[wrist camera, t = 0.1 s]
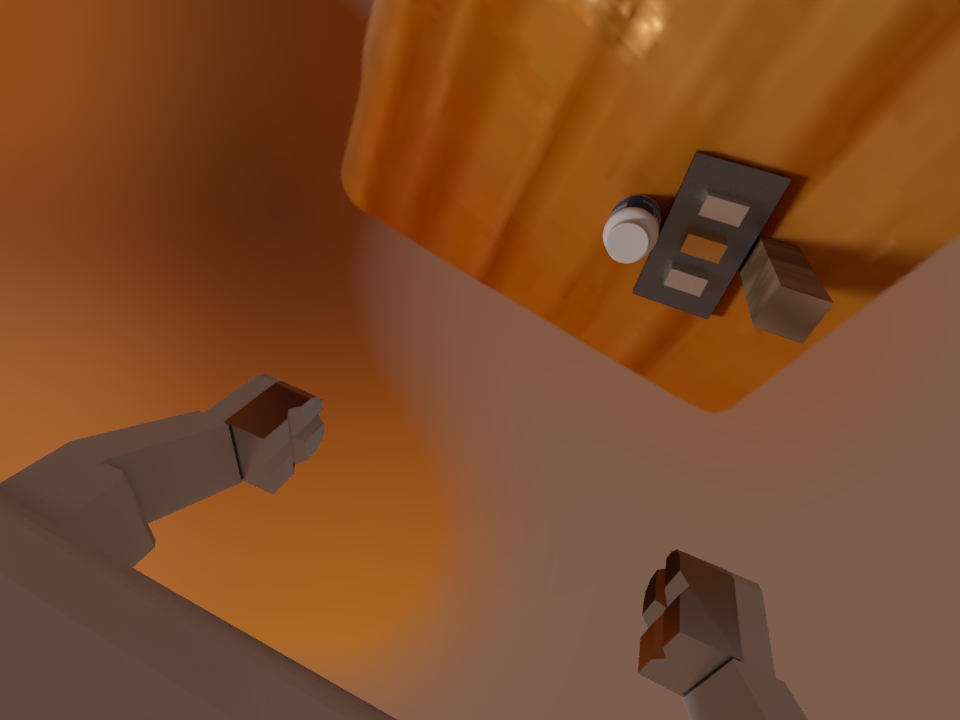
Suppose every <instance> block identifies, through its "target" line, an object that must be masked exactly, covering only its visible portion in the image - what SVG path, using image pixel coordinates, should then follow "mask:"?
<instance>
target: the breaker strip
mask: <svg viewBox="0 0 960 720" xmlns="http://www.w3.org/2000/svg"><path fill="white" fill-rule="evenodd" d="M791 180H792V179H791V178H790V177H789V176H786V175H783V174H779V173H775V172H772V171H768V170H765V169H761V168H757V167H754V166H750V165H747V164H743V163H740V162H736V161H732V160H729V159H725V158H722V157H718V156H714V155H711V154H707V153H704V152H700V151H696V153H695V155H694V157H693V160H692V162H691V164H690V166H689V168H688V171H687V173H686V175H685V177H684V179H683V182H682V184H681V186H680V188H679V190H678V193H677V195H676V197H675V199H674V201H673V203H672V206H671V208H670V210H669V212H668V214H667V217H666V219H665V221H664V223H663V225H662V228H661V230H660V232H659V235H658V239H657V242H656V244H655V246H654V248H653V249H652V250H651V252H650V254H649V256H648V258H647V261H646V263H645V265H644V267H643V269H642V272H641V274H640V276H639V278H638V280H637V283H636V285H635V287H634V290H633V294H636V295H639V296H641V297H644V298H647V299H650V300H653V301H656V302H659V303H662V304H665V305H667V306H670V307H673V308H676V309H679V310H682V311H685V312H688V313H690V314H693V315H696V316H699V317H702V318H705V319H709V317H710V315H711V314H712V312H713V310H714V309H715V307H716V305H717V304H718V302H719V300H720V299H721V297H722V295H723V294H724V292H725V290H726V289H727V287H728V285H729V284H730V282H731V280H732V279H733V277H734V275H735V274H736V272H737V270H738V269H739V267H740V265H741V263H742V262H743V260H744V258H745V257H746V255H747V253H748V252H749V250H750V248H751V247H752V245H753V243H754V242H755V240H756V238H757V237H758V235H759V233H760V232H761V230H762V228H763V227H764V225H765V223H766V222H767V220H768V218H769V217H770V215H771V213H772V212H773V210H774V208H775V207H776V205H777V203H778V202H779V200H780V198H781V197H782V195H783V193H784V191H785V190H786V188H787V186H788V185H789V183H790V181H791Z"/></svg>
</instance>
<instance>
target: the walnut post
mask: <svg viewBox="0 0 960 720" xmlns="http://www.w3.org/2000/svg"><path fill="white" fill-rule="evenodd" d="M739 272H740V276H741V280H742V284H743V287H744V291H745V295H746V299H747V303H748V306H749V310H750V314H751V318H752V322H753V325H754V327H755V328H758V329H761V330H764V331H767V332H770V333H773V334H775V335H778V336H781V337H784V338H787V339H790V340H793V341H796V342H799V343H802V344H803V342H804V341H805V340H806V339H807V337H808V336H809V335H810V333H811V332H812V331H813V330H814V328H815V327H816V326H817V324H818V323H819V322H820V321H821V319H822V318H823V317H824V315H825V314H826V313H827V312H828V310H829V309H830V308H831V306H832V305H833V304H834V303H833V301H832V300H831V298H830V296H829V295H828V293H827V292H826V290H825V289H824V287H823V285H822V284H821V282H820V281H819V279H818V277H817V276H816V274H815V273H814V271H813V270H812V268H811V266H810V265H809V263H808V262H807V260H806V258H805V257H804V255H803V254H802V252H801V250H800V249H799V248H797V247H794V246H791V245H787V244H784V243H781V242H778V241H774V240H771V239H768V238H765V237H761V236H759V237H758V239H757V241H756V242H755V244H754V246H753V247H752V249H751V251H750V252H749V254H748V256H747V257H746V259H745V261H744V262H743V264H742V266H741V267H740V269H739Z"/></svg>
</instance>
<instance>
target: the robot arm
mask: <svg viewBox="0 0 960 720" xmlns="http://www.w3.org/2000/svg"><path fill="white" fill-rule="evenodd" d="M322 410H323V407H322V399H320V398H318V397H316V396H314V395H312V394H310V393H308V392H305V391H303V390H301V389H299V388H297V387H295V386H292V385H290V384H288V383H286V382H284V381H281V380H279V379H277V378H275V377H272V376H270V375H268V374H266V373H265V374H260V375H257V376H255V377H254V378H252V379H251V380H250V381H248V382H247V383H245V384H244V385H242V386H241V387H240V388H239V389H237V390H235V391H234V392H232V393H231V394H230V395H228V396H227V397H226V398H224V399H223V400H221V401H220V402H218V403H217V404H215V405H214V406H213V407H211V408H210V409H208V410H207V411H206V412H204V413H203V412H201V411H195V412H190V413H186V414H182V415H178V416H174V417H169V418H165V419H161V420H157V421H153V422H149V423H144V424H140V425H136V426H132V427H128V428H124V429H119V430H116V431H111V432H107V433H103V434H99V435H95V436H90V437H86V438H82V439H78V440H74V441H70V442H68V443H67V444H65V445H63V446H62V447H60V448H58V449H57V450H55V451H53V452H52V453H50V454H48V455H47V456H45V457H43V458H42V459H40V460H38V461H36V462H35V463H33V464H31V465H30V466H28V467H26V468H25V469H23V470H22V471H20V472H18V473H16V474H15V475H13V476H11V477H10V478H8V479H7V480H5V481H3V482H1V483H0V720H397V719H395V718H393V717H391V716H389V715H388V714H386V713H384V712H383V711H381V710H379V709H377V708H376V707H374V706H372V705H370V704H369V703H367V702H365V701H364V700H362V699H360V698H358V697H357V696H355V695H353V694H351V693H350V692H348V691H346V690H344V689H343V688H341V687H339V686H337V685H336V684H334V683H332V682H330V681H329V680H327V679H325V678H323V677H322V676H320V675H318V674H317V673H315V672H313V671H311V670H310V669H308V668H306V667H304V666H303V665H301V664H299V663H297V662H296V661H294V660H292V659H290V658H288V657H287V656H285V655H283V654H282V653H280V652H278V651H276V650H275V649H273V648H271V647H269V646H267V645H266V644H264V643H263V642H261V641H259V640H257V639H256V638H253V637H252V636H250V635H248V634H247V633H245V632H243V631H242V630H240V629H238V628H236V627H234V626H233V625H231V624H229V623H228V622H226V621H224V620H222V619H221V618H219V617H217V616H216V615H214V614H212V613H210V612H209V611H207V610H205V609H203V608H202V607H200V606H198V605H196V604H195V603H193V602H191V601H189V600H188V599H186V598H184V597H182V596H181V595H179V594H177V593H175V592H174V591H172V590H170V589H168V588H167V587H165V586H163V585H162V584H160V583H158V582H156V581H155V580H153V579H151V578H149V577H148V576H146V575H144V574H142V573H141V572H139V571H137V570H135V569H134V568H132V567H134V566H135V565H136V564H137V563H138V562H139V561H140V560H141V559H142V558H143V557H144V556H146V555H147V554H148V553H149V552H150V551H151V550H152V549H153V548H154V547H155V542H156V540H155V538H154V536H153V533H152V531H151V530H150V527H149V525H148V523H150V522H153V521H155V520H157V519H159V518H162V517H164V516H166V515H168V514H171V513H173V512H175V511H178V510H180V509H182V508H185V507H187V506H189V505H191V504H194V503H196V502H198V501H200V500H203V499H205V498H207V497H209V496H212V495H214V494H216V493H219V492H221V491H223V490H226V489H228V488H230V487H232V486H234V485H237V484H239V483H241V482H242V480H243V481H245V482H247V483H249V484H252V485H254V486H256V487H258V488H260V489H263V490H265V491H267V492H269V493H271V494H274V493H275V492H276V491H277V490H278V489H279V488H280V487H281V486H282V485H283V484H284V483H285V482H286V481H287V480H288V479H289V478H290V477H291V476H292V475H293V474H294V469H295V464H297V463H300V462H302V461H305V460H307V459H309V457H310V456H311V455H312V454H313V453H314V452H315V451H316V449H317V448H318V446H319V444H320V442H321V440H322V437H323V433H324V423H323V422H322V420H321V419H320V417H319V415H318V414H319V413H320V412H321V411H322ZM642 615H643V618H644V620H645V622H646V624H647V626H648V629H647V631H646V632H645V633H644V634H643V635H642V636H641V638H640V651H639V666H638V673H639V674H641V675H642V676H644V677H647V678H648V679H650V680H652V681H654V682H656V683H658V684H660V685H662V686H664V687H666V688H667V689H669V690H671V691H673V692H675V693H677V694H679V695H681V696H683V697H684V698H682V700H683V703H684V705H685V708H686V711H687V714H688V716H689V719H690V720H808V719H807V717H806V716H805V714H804V713H803V711H802V709H801V708H800V706H799V704H798V703H797V701H796V700H795V698H794V697H793V695H792V693H791V692H790V690H789V688H788V687H787V685H786V684H785V682H783V681H781V680H779V679H777V678H776V677H775V671H774V664H773V658H772V652H771V645H770V639H769V632H768V626H767V619H766V613H765V607H764V600H763V594H762V590H761V588H760V586H759V585H758V584H757V583H755V582H752V581H750V580H747V579H745V578H743V577H740V576H738V575H736V574H733V573H731V572H728V571H727V570H725V569H723V568H720V567H718V566H716V565H713V564H711V563H708V562H706V561H703V560H701V559H699V558H696V557H694V556H691V555H689V554H686V553H684V552H682V551H679V550H674V551H672V552H671V553H670V554H669V555H668V557H667V558H666V568H665V569H660V570H657V571H656V572H655V573H654V575H653V576H652V578H651V579H650V582H649V585H648V587H647V589H646V592H645V597H644V603H643V612H642Z"/></svg>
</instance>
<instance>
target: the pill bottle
mask: <svg viewBox="0 0 960 720" xmlns="http://www.w3.org/2000/svg"><path fill="white" fill-rule="evenodd" d="M660 223H661V211H660V208H659V206H658V204H657V203H656V202H655V201H654V200H653V199H652V198H650V197H648V196H646V195H641V194H635V195H630V196H628V197H626V198H624V199H622V200H621V201H620V202H619V203H618V204H617V205H616V206H615V208H614V210H613V211H612V213H611V215H610V217H609V219H608V221H607V223H606V225H605V227H604V231H603V242H604V245H605V247H606V249H607V251H608V253H609V255H610V256H611V257H612V258H613V259H614V260H616V261H617V262H620V263H633V262H635V261H637V260H639V259H641V258H643V257H644V256H646V255H647V254H648V253H650V251H651V250H652V249H653V248H654V246H655V244H656V242H657V239H658V235H659V229H660Z"/></svg>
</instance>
